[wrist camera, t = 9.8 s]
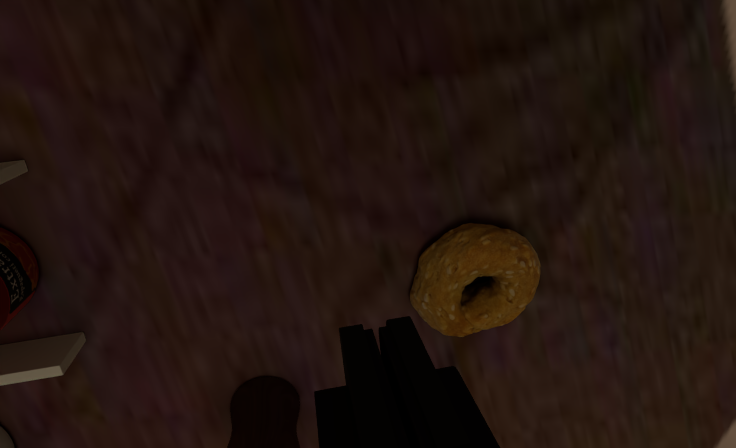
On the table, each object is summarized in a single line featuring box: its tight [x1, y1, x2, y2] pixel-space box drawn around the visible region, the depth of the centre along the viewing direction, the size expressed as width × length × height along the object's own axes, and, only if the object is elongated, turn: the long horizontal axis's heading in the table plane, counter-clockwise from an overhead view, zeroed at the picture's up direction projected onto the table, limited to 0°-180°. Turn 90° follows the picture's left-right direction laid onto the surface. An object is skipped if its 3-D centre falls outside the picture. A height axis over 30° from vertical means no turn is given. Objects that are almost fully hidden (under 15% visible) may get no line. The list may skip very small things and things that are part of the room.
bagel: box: [410, 223, 540, 337], centre depth 40 cm, size 10×11×5 cm
